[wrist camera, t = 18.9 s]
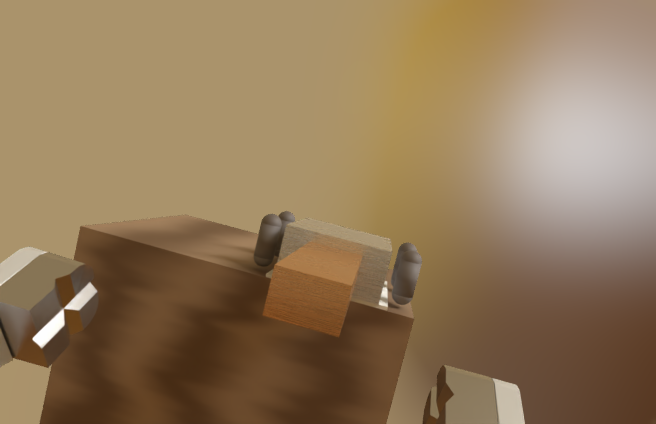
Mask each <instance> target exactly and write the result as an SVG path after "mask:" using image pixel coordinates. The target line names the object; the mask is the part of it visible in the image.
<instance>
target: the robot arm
mask: <svg viewBox="0 0 656 424" xmlns="http://www.w3.org/2000/svg"><path fill="white" fill-rule="evenodd" d="M94 277H95V276H94V273H93V269H92V266H90V265H87V264H85V263H81V262H78V261H75V260H72V259H68V258H65V257H62V256H59V255H56V254H52V253H49V252H46V251H42V250H39V249H36V248H32V247H26V248H22V249H20V250H18V251H17V252H16V253H14V254H13V255H11V256H10V257H9V258H8V259H6V260H5V261H3V262H2V263H1V264H0V367H1V366H2V365H5V364H6V363H9V362H10V361H12V360H13V358H15V359H19V360H22V361H26V362H29V363H33V364H36V365H40V366H44V367H47V368H48V367H49V366H50V365H51V364H52V363H53V362H54V361H55V360H56V359H57V358H58V357H59V356H60V355H61V354H62V352H63V351H64V350H65V349H66V348H67V347H68V346H69V345H70V335H72V334H75V333H77V332H79V331H82V330H84V329H85V327H86V326H87V325H88V324H89V323H90V322H91V321H92V319H93V317H94V315H95V313H96V311H97V309H98V302H99V297H98V291H97V290H96V289H95V288H94V286H93V285H92V284H91V283H90V282H91V281H92V280H93V278H94ZM423 424H525V421H524V415H523V409H522V402H521V396H520V390H519V388H518V387H517V385H514V384H511V383H507V382H504V381H500V380H497V379H493V378H490V377H487V376H484V375H480V374H476V373H472V372H469V371H465V370H461V369H458V368H454V367H450V366H446V365H443V366H442V367H441V368H440V371H439V373H438V375H437V386H435V387H433V388H431V391H430V393H429V396H428V398H427V402H426V406H425V409H424V416H423Z"/></svg>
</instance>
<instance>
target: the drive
mask: <svg viewBox="0 0 656 424" xmlns="http://www.w3.org/2000/svg"><path fill="white" fill-rule="evenodd" d="M391 255H392V246H391V240H390V239H389V238H385V237H381V236H377V235H374V234H370V233H366V232H362V231H358V230H354V229H350V228H346V227H343V226H339V225H335V224H331V223H327V222H323V221H319V220H315V219H312V218H305V219H302V220H298V221H295V222H292V223H289V224H286V228H285V232H284V237H283V241H282V245H281V249H280V253H279V257H278V261H277V263H276V264H275V265H274V269H273V273H272V278H271V282H270V286H269V290H268V294H267V298H266V302H265V307H264V311H263V316H266V317H269V318H273V319H276V320H280V321H283V322H287V323H290V324H294V325H297V326H301V327H304V328H308V329H311V330H315V331H318V332H322V333H325V334H329V335H332V336H336V337H339V336H340V333H341V329H342V326H343V323H344V320H345V317H346V313H347V310H348V307H349V304H350V301H351V298H355V299H358V300H362V301H366V302H369V303H373V304H377V305H379V301H380V297H381V294H382V290H383V286H384V282H385V278H386V274H387V271H388V266H389V263H390V259H391Z"/></svg>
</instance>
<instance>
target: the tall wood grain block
mask: <svg viewBox="0 0 656 424" xmlns="http://www.w3.org/2000/svg"><path fill="white" fill-rule="evenodd" d="M292 222H295V217H294V215H293V214H292V213H291V212H288V211H285V212H282V213H281V214H280V215H279V216H277V215H275V214H268V215H266V216H265V217H264V218H263V219H262V222H261V226H260V230H259V234H256V233H252V232H248V231H244V230H241V229H237V228H234V227H230V226H226V225H222V224H218V223H215V222H211V221H207V220H203V219H200V218H196V217H192V216H189V215H178V216H169V217H160V218H150V219H141V220H133V221H123V222H113V223H104V224H95V225H85V226H81V227H80V232H79V237H78V241H77V246H76V251H75V256H74V260H75V261H78V262H81V263H85V264H87V265H90V266H92V269H93V273H94V276H95V277H94V278H93V280H92V281H91V282H90V283H91V284H92V285H93V286H94V288H95V289H96V290H97V291H98V297H99V302H98V309H97V311H96V313H95V315H94V317H93V319H92V321H91V322H90V323H89V324H88V325H87V326H86V327H85V329H84V330H82V331H79V332H77V333H75V334H72V335H70V345H69V346H68V347H67V348H66V349H65V350H64V351H63V352H62V354H61V355H60V356H59V357H58V358H57V359H56V360H55V361H54V362H53V363H52V367H51V371H50V376H49V381H48V386H47V391H46V395H45V401H44V405H43V410H42V415H41V420H40V424H386V422H387V419H388V415H389V411H390V407H391V404H392V400H393V396H394V392H395V388H396V385H397V381H398V377H399V373H400V370H401V366H402V362H403V359H404V354H405V351H406V347H407V343H408V339H409V336H410V332H411V328H412V325H413V321H414V316H413V312H412V307H411V303H410V301H411V300H412V297H413V294H414V290H415V286H416V282H417V279H418V275H419V271H420V267H421V263H422V259H421V256H420V255H419V254H418V253H417V250H416V247H415V246H414V245H413V244H411V243H404V244H402V245H401V246H400V247H399V250H398V254H397V258H396V262H395V265H394V269H393V270H390V269H388V271H387V274H386V278H385V282H384V286H383V290H382V294H381V297H380V301H379V305H377V304H373V303H369V302H366V301H362V300H358V299H355V298H351V301H350V304H349V307H348V310H347V313H346V317H345V320H344V323H343V326H342V329H341V333H340V336H339V337H336V336H332V335H329V334H325V333H322V332H318V331H315V330H311V329H308V328H304V327H301V326H297V325H294V324H290V323H287V322H283V321H280V320H276V319H273V318H269V317H266V316H263V311H264V307H265V302H266V298H267V294H268V290H269V286H270V282H271V278H272V273H273V269H274V265H275V264H276V263H277V261H278V257H279V253H280V249H281V245H282V241H283V237H284V232H285V228H286V224H289V223H292Z"/></svg>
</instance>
